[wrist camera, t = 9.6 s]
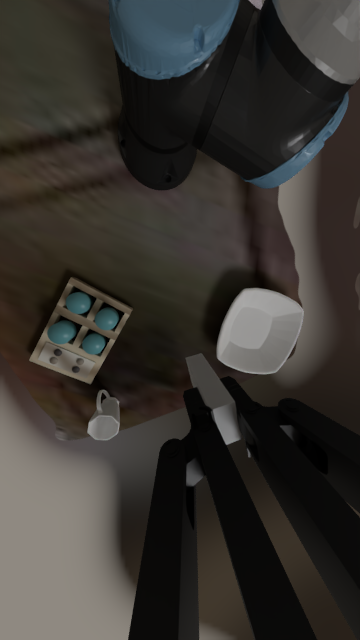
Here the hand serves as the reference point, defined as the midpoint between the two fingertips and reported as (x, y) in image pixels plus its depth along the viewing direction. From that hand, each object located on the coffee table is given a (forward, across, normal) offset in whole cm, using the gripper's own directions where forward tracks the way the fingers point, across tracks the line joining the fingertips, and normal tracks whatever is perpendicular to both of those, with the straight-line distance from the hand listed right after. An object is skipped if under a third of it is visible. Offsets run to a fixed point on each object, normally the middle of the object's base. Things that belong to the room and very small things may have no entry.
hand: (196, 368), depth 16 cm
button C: (+27, -22, +2) cm, 36 cm away
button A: (+29, -18, +7) cm, 34 cm away
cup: (+30, -20, -19) cm, 41 cm away
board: (+29, -20, 0) cm, 35 cm away
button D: (+29, -18, -3) cm, 34 cm away
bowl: (+30, +21, -11) cm, 38 cm away
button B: (+27, -13, +2) cm, 30 cm away
